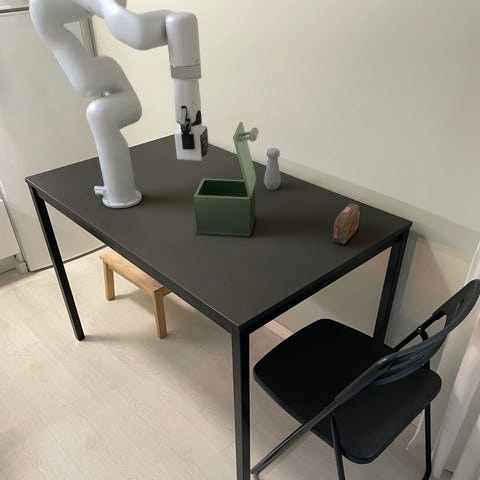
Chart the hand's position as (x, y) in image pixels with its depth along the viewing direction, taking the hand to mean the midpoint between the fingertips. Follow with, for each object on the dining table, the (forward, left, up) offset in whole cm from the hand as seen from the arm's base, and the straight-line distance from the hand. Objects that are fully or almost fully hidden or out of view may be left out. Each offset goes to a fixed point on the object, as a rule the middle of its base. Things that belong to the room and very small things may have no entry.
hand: (192, 143), depth 131 cm
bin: (+9, 0, -24) cm, 26 cm away
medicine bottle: (0, 0, -4) cm, 4 cm away
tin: (+43, -3, -24) cm, 50 cm away
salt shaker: (+20, +28, -24) cm, 42 cm away
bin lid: (+14, 0, -4) cm, 15 cm away
